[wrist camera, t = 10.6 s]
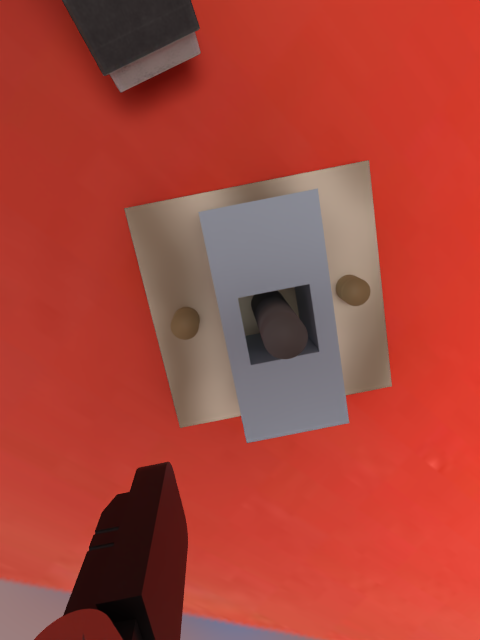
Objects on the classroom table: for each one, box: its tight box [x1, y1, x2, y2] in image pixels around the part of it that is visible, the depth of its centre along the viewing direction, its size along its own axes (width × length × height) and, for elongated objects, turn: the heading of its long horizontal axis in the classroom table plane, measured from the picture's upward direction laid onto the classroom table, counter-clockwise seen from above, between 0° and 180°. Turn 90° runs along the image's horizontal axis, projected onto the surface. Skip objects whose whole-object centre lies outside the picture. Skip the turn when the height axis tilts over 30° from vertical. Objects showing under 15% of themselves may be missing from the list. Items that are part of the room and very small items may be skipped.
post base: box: [124, 160, 392, 428], centre depth 23 cm, size 14×14×8 cm
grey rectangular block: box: [199, 189, 349, 443], centre depth 23 cm, size 12×6×5 cm, turn 11°
